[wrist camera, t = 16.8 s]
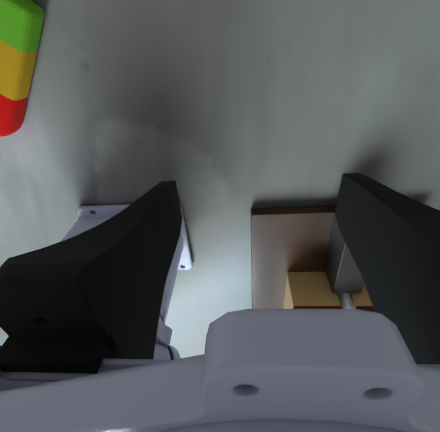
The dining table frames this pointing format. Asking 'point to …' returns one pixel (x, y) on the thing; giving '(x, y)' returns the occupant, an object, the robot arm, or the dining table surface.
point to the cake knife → (342, 269)
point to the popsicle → (17, 59)
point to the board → (286, 248)
